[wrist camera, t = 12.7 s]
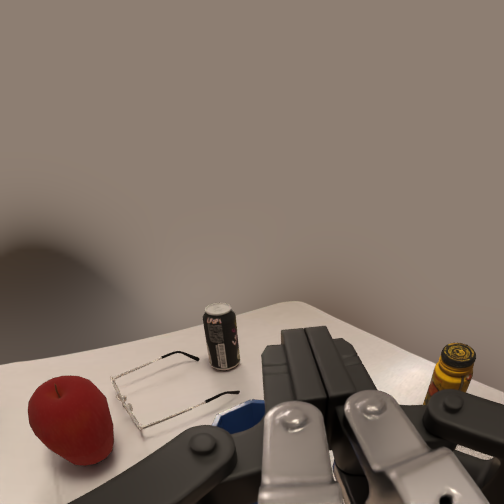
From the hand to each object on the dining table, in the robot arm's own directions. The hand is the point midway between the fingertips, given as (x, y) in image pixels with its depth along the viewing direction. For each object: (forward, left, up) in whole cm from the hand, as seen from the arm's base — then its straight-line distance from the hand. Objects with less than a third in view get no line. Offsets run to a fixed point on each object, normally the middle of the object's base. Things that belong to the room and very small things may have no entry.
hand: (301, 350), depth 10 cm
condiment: (+2, -31, -28) cm, 42 cm away
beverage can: (+37, -12, -28) cm, 48 cm away
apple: (+25, +16, -28) cm, 41 cm away
